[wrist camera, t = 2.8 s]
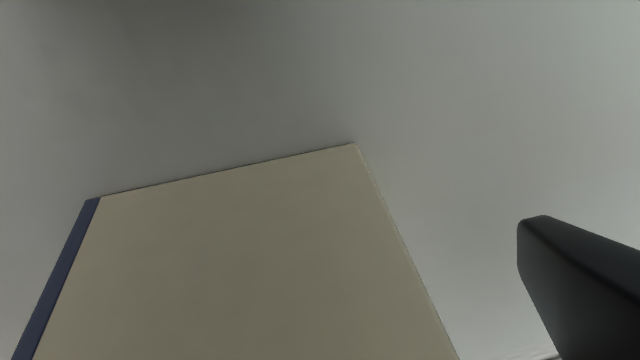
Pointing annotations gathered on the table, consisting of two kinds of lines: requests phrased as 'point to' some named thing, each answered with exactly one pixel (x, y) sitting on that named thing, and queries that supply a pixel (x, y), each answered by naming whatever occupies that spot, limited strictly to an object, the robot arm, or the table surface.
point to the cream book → (240, 272)
